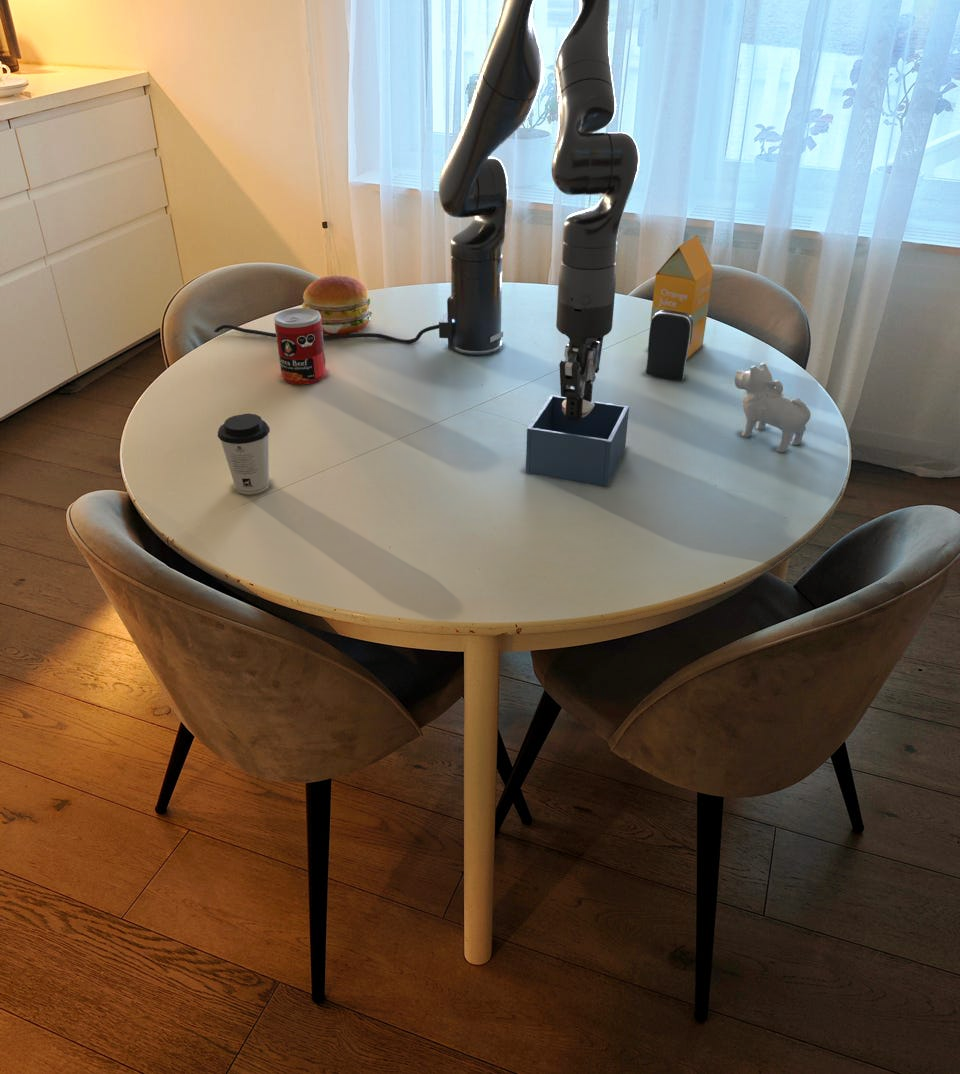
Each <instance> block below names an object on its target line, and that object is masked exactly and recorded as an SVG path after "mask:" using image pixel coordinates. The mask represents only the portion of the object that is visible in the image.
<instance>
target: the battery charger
mask: <svg viewBox="0 0 960 1074" xmlns="http://www.w3.org/2000/svg"><path fill="white" fill-rule="evenodd" d="M650 324H651V325H650V326H649V332H648V333H649V334H648V343H647V360H646V369H645V374H646V375H649V376H652V377H657V378H662V379H669V380H677V381H683V380H684V378H685V374H686V365H687V359H688V358H687V354H688V349H689V344H690V343H691V337H692V329H693V319H692V317H691V315H689V314H688V313H684V312H678V311H671V310H660V311H659V312H657V313H656V314H655V315H654V316H653V317H652V320H651V319H650Z"/></svg>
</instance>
